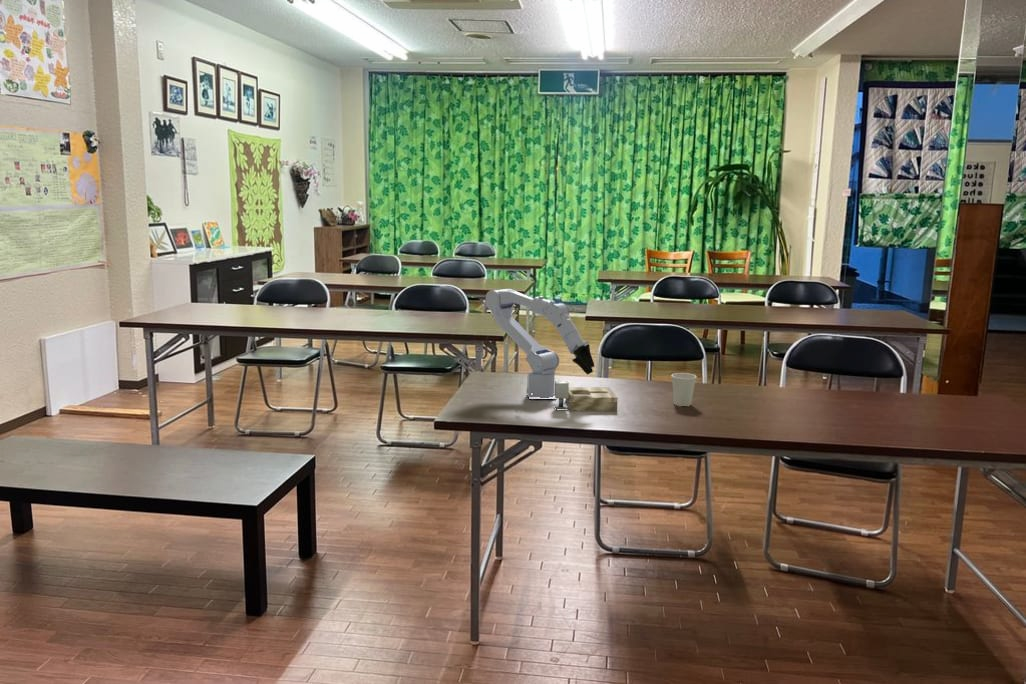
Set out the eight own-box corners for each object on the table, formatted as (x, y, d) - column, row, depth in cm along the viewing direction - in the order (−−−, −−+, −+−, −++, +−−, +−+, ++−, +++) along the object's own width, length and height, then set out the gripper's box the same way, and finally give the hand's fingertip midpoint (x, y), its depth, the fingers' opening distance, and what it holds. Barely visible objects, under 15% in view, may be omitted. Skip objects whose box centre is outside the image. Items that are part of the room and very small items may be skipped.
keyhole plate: (571, 411, 251) (571, 397, 250) (565, 400, 264) (565, 387, 264) (617, 410, 252) (617, 397, 251) (608, 400, 266) (609, 387, 265)
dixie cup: (697, 407, 257) (699, 378, 256) (672, 407, 258) (673, 378, 256) (692, 401, 266) (693, 373, 264) (667, 401, 266) (669, 372, 264)
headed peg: (555, 410, 251) (556, 383, 250) (554, 407, 255) (554, 380, 254) (567, 410, 252) (568, 383, 250) (566, 407, 256) (566, 380, 254)
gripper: (582, 323, 251) (603, 358, 247) (579, 336, 265) (599, 370, 261) (563, 333, 250) (584, 369, 246) (561, 345, 264) (581, 379, 260)
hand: (590, 370), depth 254 cm, fingers open, 7 cm apart
